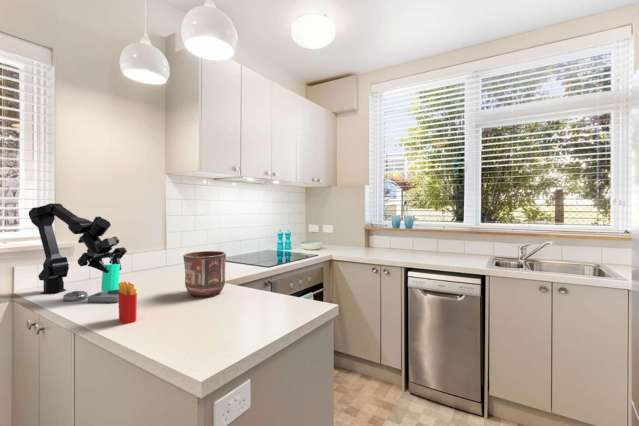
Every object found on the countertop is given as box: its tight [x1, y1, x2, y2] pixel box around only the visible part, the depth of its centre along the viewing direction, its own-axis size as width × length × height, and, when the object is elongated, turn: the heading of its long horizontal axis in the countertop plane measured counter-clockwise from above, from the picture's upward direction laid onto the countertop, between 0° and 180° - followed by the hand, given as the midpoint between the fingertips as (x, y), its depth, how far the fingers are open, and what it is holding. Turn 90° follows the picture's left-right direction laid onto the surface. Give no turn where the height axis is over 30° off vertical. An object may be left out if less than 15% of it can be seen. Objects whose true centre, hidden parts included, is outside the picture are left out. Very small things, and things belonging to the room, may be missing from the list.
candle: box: [101, 263, 121, 291], centre depth 134 cm, size 6×6×12 cm
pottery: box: [183, 250, 227, 298], centre depth 143 cm, size 18×18×18 cm
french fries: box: [118, 281, 138, 324], centre depth 109 cm, size 9×4×13 cm, turn 48°
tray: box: [87, 289, 119, 304], centre depth 135 cm, size 12×12×2 cm
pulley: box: [62, 290, 88, 303], centre depth 134 cm, size 8×8×3 cm
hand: (114, 271), depth 134 cm, fingers closed on candle, 6 cm apart
